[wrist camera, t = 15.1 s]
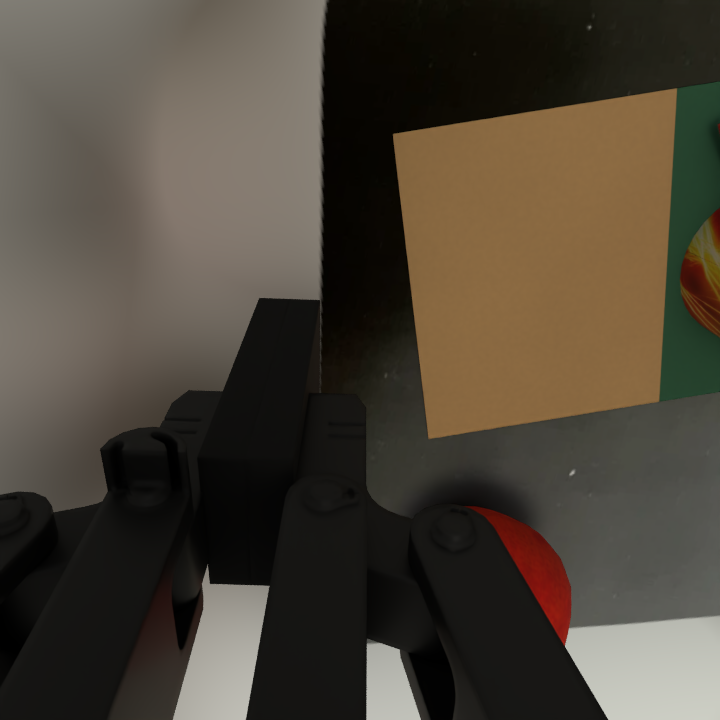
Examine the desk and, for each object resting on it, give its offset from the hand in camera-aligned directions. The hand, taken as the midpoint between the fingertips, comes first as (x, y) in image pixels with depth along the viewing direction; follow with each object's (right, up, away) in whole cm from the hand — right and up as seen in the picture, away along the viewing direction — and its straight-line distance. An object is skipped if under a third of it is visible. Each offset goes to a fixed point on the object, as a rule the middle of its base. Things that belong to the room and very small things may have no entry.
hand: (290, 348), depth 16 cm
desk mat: (+21, +6, +24) cm, 32 cm away
